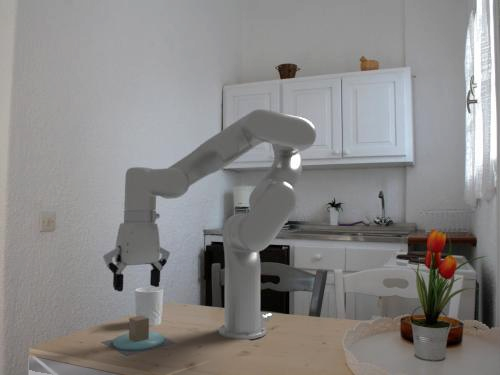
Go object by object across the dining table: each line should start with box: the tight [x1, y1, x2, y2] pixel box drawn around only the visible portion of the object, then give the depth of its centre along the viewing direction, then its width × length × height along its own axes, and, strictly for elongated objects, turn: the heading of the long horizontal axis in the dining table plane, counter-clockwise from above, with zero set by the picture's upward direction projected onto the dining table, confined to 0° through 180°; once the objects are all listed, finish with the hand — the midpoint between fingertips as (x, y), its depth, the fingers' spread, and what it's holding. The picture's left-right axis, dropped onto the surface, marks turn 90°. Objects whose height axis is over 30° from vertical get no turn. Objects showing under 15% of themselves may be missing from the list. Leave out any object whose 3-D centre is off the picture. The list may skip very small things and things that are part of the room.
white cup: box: [134, 286, 164, 327], centre depth 119 cm, size 8×8×10 cm
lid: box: [113, 316, 165, 351], centre depth 102 cm, size 12×12×6 cm
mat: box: [101, 330, 177, 357], centre depth 101 cm, size 13×13×1 cm
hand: (137, 288), depth 102 cm, fingers open, 9 cm apart
